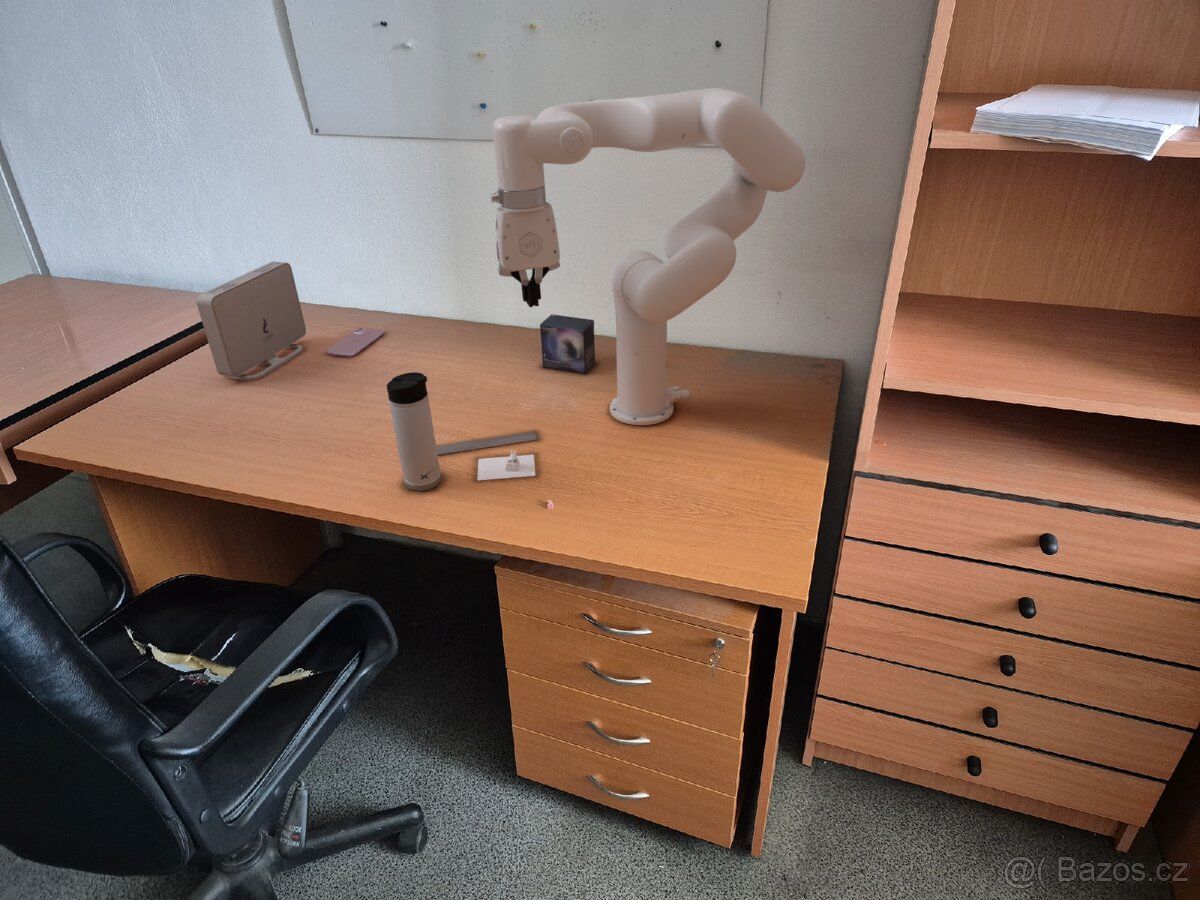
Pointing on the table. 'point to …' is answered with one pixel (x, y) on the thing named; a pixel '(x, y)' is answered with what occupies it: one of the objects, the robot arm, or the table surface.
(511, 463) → the adhesive hook
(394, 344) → the table surface
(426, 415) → the travel mug
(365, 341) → the mobile phone
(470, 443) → the steel ruler
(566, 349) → the small box
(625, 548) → the table surface
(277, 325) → the network device
